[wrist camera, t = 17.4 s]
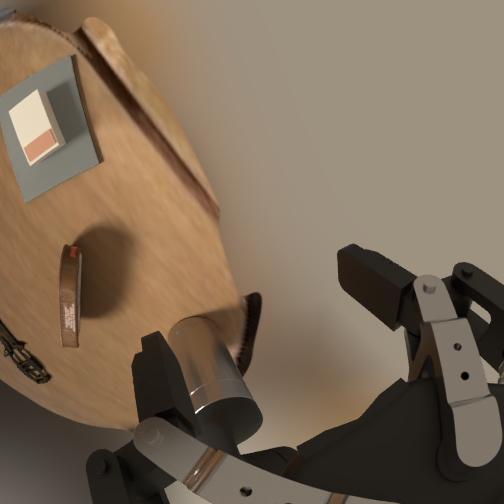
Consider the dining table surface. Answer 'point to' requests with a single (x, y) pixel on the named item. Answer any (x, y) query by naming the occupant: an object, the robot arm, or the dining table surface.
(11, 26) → the dining table surface
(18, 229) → the dining table surface
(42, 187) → the mat
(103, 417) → the dining table surface
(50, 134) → the card box
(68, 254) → the tin
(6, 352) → the knife
